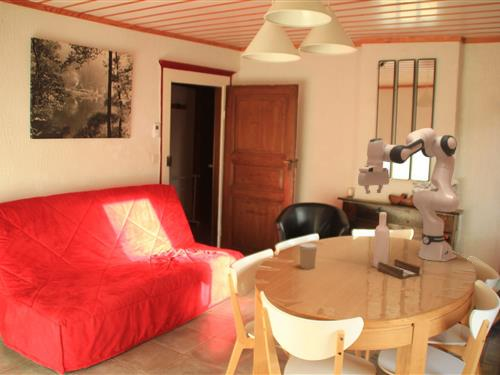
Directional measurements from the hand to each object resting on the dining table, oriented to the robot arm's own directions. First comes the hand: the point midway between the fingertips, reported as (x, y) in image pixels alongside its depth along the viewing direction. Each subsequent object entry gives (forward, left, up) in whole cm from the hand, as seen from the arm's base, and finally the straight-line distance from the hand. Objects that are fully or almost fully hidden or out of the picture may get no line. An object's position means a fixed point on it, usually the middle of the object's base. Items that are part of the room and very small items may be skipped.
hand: (373, 193), depth 280 cm
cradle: (0, +21, -39) cm, 45 cm away
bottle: (0, +8, -40) cm, 40 cm away
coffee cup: (+36, -10, -40) cm, 55 cm away
